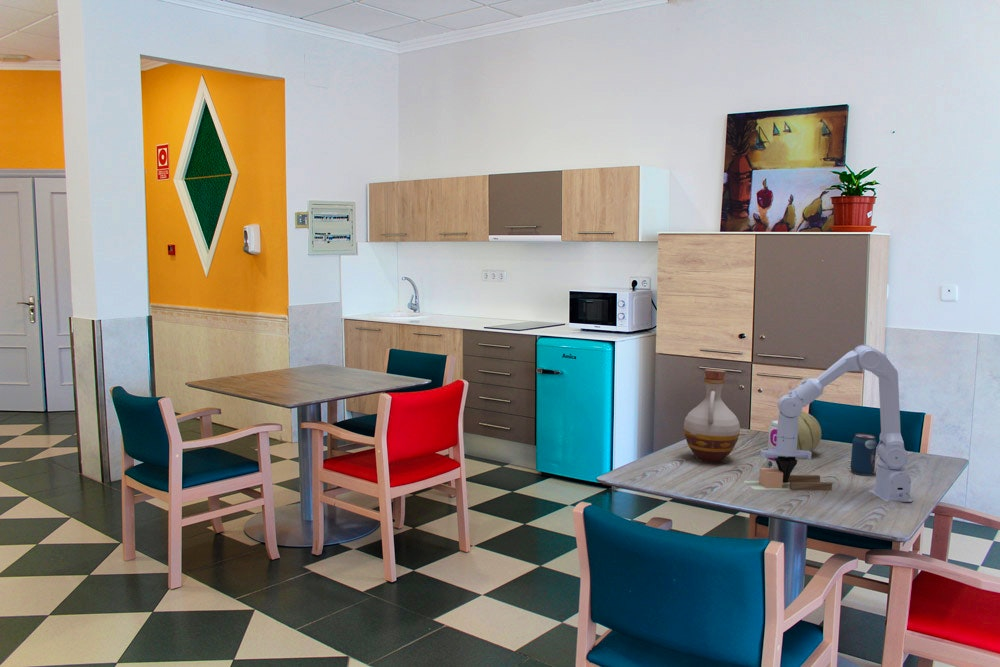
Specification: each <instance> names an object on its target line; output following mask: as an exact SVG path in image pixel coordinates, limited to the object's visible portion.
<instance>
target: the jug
mask: <svg viewBox="0 0 1000 667" xmlns="http://www.w3.org/2000/svg"><path fill="white" fill-rule="evenodd" d="M704 374H705V377H703V378H704V383H705V388H706V390H705V391H706V396H705V398H704V400H702V401H701V402H700V403H699V404H698V405H697V406H695V407H693V409H691V411H689V412H688V413H687V415H686V416H685V418H684V422H683V431H684V437H685V438H684V439H685V440H686V443H687V446H688V448H689V449H690V450H691V452H692V453H693V455H694V456H695V458H696V459H697V460H698V461H701V462H704V463H709V464H710V463H712V464H717V463H721V462H723V461H724V460H725V459H726V458H727V456H729V455H730V454H731V453H732V451H733V450H734V449H735V447H736V445H737V443H738V441H739V437H740V432H741V426H740V421H739V419H738V417H737V416H736V414H734V412H733V411H732V410H731V409H729V407H728V406H727V404H725V403H724V401H723V400H722V391H723V390H722V389H723V385H724V384H725V382H726V379H725V376H726V370H724V369H713V368H711V369H709V368H707V369H704Z"/></svg>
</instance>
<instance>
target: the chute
mask: <svg viewBox="0 0 1000 667" xmlns="http://www.w3.org/2000/svg"><path fill="white" fill-rule="evenodd" d="M743 482H744V483H745V484H746V485H747V486H749V487H750V488H751V489H752V490H755V491H832V489H833V483H832V482H829V481H821V475H819V474H790V476H789V479H788V482H787V483H782V488H765V487H764V486H762V485H761V484H760V483H759V480H743Z"/></svg>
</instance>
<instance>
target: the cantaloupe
mask: <svg viewBox="0 0 1000 667" xmlns="http://www.w3.org/2000/svg"><path fill="white" fill-rule="evenodd" d="M798 422H799V425H798V439H797V450H804V451H810V452H812V451H815V449H816V448H818V446H819V445H820V443H821V439H822V428H821V425H820V423H819V421H818V420H817V418H815V417H814V416H813V415H811V414H810V413H808V412H804V411H801V413H800V414H799V416H798Z"/></svg>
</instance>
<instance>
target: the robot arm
mask: <svg viewBox="0 0 1000 667" xmlns="http://www.w3.org/2000/svg"><path fill="white" fill-rule="evenodd" d="M860 367H861V368H862V369H863V370H865V371H868V372H870V373H871V374H873V375H874V376H876V377H877V379H878V390H879V392H878V393H879V394H878V396H879V412H880V414H879V415H880V416H879V417H880V433H879V441H878V443H877V446H876V455H877V456H878V457H879V460H877V464H876V474H875V475H876V476H875V484H874V489H868V492H870V493H871V494H873V495H875V496H876V497H878V498H879V499H882V500H883V501H886V502H900V503H912V502H913V500H912V499H911V498H910V496H911V485H912V484H911V483H912V479H911V477H910V475H909V474H908V473H907V472H906V465H907V463H908V461H909V454H908V452H907V450H906V449H905V443H904V440H903V437H902V433H901V414H900V412H901V411H900V387H899V372H898V370H897V369H896V368H895V366H894V365H893V364H892V362H891V361H890V360H889V358H888V357H887V355H886V354H884V353H883V352H882V351H880V350H878V349H876V348H873V347H872V346H870V345H868V344H860V345H858V346H856V347H855V348H854V349H853V350H852V349H851V350H850V351H848V352H847V353H846V354H844V355H843V356H842V357H841V358H840V359H838V360H837V361H836V362H835V363H833V364H832V365H831V366H829V368H827V369H826V370H824V372H822V373H821V374H820V375H819V376H818V377H816V378H812V377H811V378H810V377H809V378H808V379H802V380H801V381H800V383H801V384H800V385H798V386H797V387H795V388H794V389H793V390H789V391H788V392H787V393H788V394H785V395H784V394H783V395H782V396H781V397H780V398H779V400H778V402H777V404H776V405H777V409H778V410H779V411H778V419H777V420H778V427H777V441H776V449H771V450H768V449H761V450H760V458H762V459H767V458H774V459H775V461H776V464H777V466H778V469H779V470H780V471H781V472H783V483H787V482H788V479H789V476H790V475H792V474H791V473H792V471H793V470H794V469H795V467H796V465H797V464H798V460H797V459H809V460H811V459H812V456H813V455H812V451H811V452H810V451H804V450H797V439H798V425H799V422H798V416H799V414H800V413H801V412H803V411H802V410H803V408H805V407H807V406H809V405H810V404H811V403H812V402H814V401H815V400H817V399H818V398H819V397H820V396H822V395H823V394H824V389H825V387H827V386H828V385H829V384H831V383H833V382H834V381H836V380H837V379H838V378H840V377H842V376H843V375H844V374H846V373H848V372H859V371H861V369H860Z"/></svg>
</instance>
